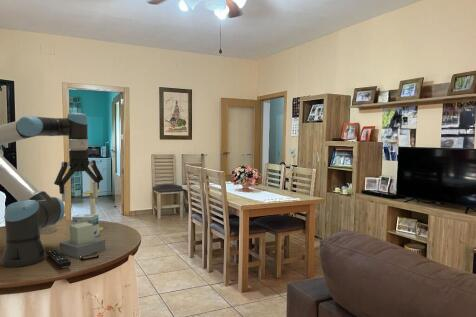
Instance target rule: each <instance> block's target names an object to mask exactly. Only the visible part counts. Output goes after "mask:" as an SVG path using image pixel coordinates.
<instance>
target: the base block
mask: <svg viewBox="0 0 476 317" xmlns="http://www.w3.org/2000/svg"><path fill="white" fill-rule="evenodd" d="M58 244H59V253H60V252H61V253H62V254H61V253H60V254H61V255H65V256H68V257H71V258H75V259H78V260H79V259H80V258H79V257H80V256H82V255H85V254H89V253H92V252H97V253H100V252H103V251H106V239H104V238H100V237H97V236H96V237H94V241H90V242H86V243H82V244H75V243H73V242H71V241H70V239H68V240H65V241H61V242H59V243H58Z"/></svg>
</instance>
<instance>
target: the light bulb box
mask: <svg viewBox="0 0 476 317" xmlns="http://www.w3.org/2000/svg"><path fill="white" fill-rule="evenodd" d="M71 219H72V220H71V222H72V224H71V225H74V224H79V223H84V222H87V223H90V224H93V226H94V237H96V238H97V237H98V236H99V235H100V231H99V227H100V222H99V221H100V220H99V213H96V214H91V213H78V214H76V215H74V216H73V215H72V216H71Z"/></svg>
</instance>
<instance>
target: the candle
mask: <svg viewBox="0 0 476 317" xmlns="http://www.w3.org/2000/svg"><path fill="white" fill-rule="evenodd" d="M88 167H89V169H90V170H91V171H92V172H93V174H94V175H95V173H94V171H93V169H92V167H91V165H90V164H89V165H88ZM93 182H95V181H94V180H93V179H92V178H91V177H90V176H89V190H87V191H84V192H83V194H85V195H89V206H90V207H89V208H90V214H97V213H96V212H97V211H96V197H93ZM101 192H102V191H101V190H98V194H100V193H101ZM101 231H104V227H103V226H99V232H101Z"/></svg>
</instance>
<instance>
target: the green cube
mask: <svg viewBox="0 0 476 317" xmlns="http://www.w3.org/2000/svg"><path fill="white" fill-rule="evenodd" d="M69 236H70V237H69V238H70V239H69V240H70V241H71V242H73V243H75V244H82V243H86V242H90V241H94V226H93V224H90V223H87V222H84V223H79V224H74V225H72V224H70V225H69Z"/></svg>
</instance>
